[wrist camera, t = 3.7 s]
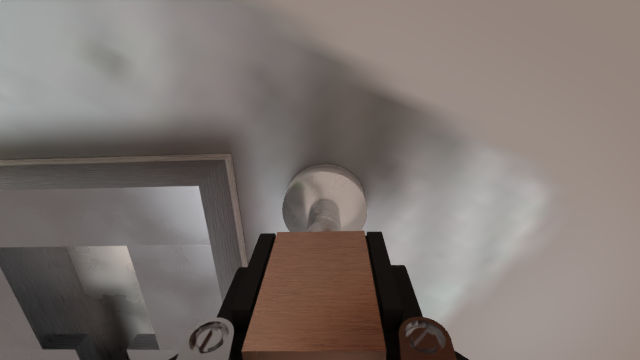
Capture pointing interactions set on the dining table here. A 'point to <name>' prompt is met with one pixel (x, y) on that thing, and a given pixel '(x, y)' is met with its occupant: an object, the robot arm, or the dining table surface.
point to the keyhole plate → (114, 254)
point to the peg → (318, 277)
